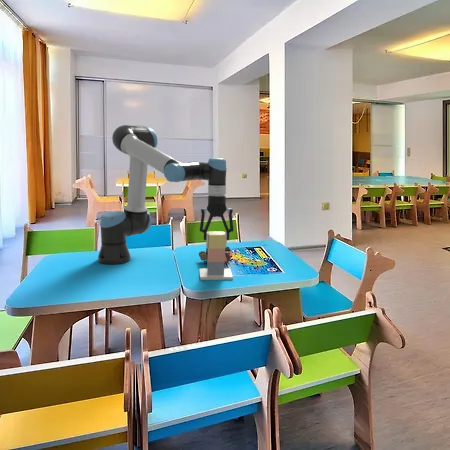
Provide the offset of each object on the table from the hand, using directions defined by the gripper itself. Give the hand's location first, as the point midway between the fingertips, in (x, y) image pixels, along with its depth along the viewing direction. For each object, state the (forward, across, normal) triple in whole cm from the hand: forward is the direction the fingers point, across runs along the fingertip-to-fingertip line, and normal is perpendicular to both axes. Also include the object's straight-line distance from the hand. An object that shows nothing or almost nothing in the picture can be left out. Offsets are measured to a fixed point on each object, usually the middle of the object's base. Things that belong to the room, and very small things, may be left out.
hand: (216, 247), depth 177 cm
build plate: (+13, 0, 0) cm, 13 cm away
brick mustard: (0, 0, 0) cm, 0 cm away
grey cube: (+12, 0, 0) cm, 12 cm away
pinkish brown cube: (+6, 0, 0) cm, 6 cm away
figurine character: (+13, +1, +19) cm, 23 cm away
